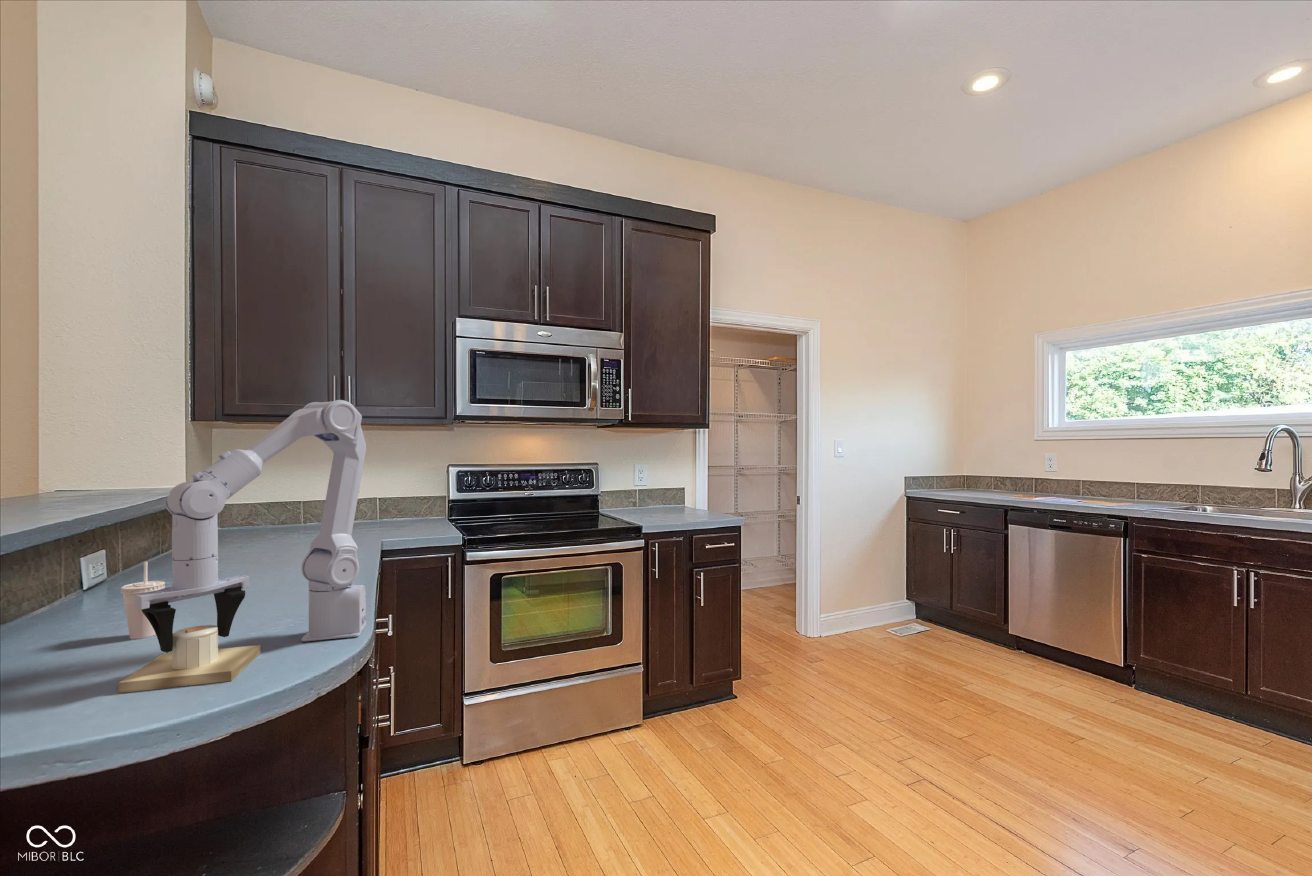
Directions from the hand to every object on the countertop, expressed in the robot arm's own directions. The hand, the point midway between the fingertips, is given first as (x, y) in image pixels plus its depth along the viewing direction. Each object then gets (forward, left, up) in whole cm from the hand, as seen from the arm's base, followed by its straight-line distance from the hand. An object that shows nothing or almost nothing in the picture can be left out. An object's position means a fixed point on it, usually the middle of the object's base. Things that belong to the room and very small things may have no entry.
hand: (195, 643), depth 92 cm
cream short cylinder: (0, 0, -3) cm, 3 cm away
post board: (0, 0, -5) cm, 5 cm away
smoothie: (+18, -24, -5) cm, 30 cm away
